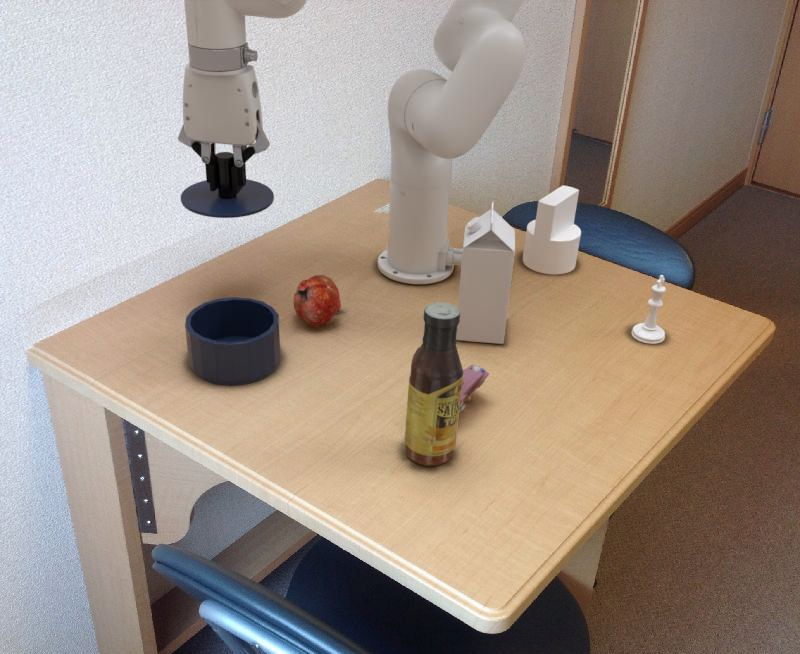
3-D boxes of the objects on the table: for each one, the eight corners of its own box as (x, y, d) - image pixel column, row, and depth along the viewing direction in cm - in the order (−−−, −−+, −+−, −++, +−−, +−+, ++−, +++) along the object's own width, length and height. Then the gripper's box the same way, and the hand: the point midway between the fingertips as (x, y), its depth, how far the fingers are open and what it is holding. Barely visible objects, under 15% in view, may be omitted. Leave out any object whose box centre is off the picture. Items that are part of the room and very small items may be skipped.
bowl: (279, 335, 134) (278, 295, 130) (281, 384, 123) (279, 343, 120) (192, 337, 132) (188, 297, 128) (186, 387, 122) (182, 345, 118)
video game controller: (439, 436, 118) (464, 405, 113) (412, 413, 118) (437, 381, 114) (475, 400, 125) (501, 369, 120) (450, 377, 125) (474, 346, 120)
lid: (273, 184, 139) (272, 138, 135) (274, 221, 128) (272, 173, 124) (184, 184, 137) (180, 138, 133) (177, 222, 127) (172, 173, 123)
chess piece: (670, 335, 138) (685, 276, 132) (654, 347, 135) (668, 287, 129) (642, 323, 141) (655, 264, 135) (625, 334, 138) (637, 275, 132)
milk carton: (503, 320, 140) (518, 203, 128) (503, 345, 134) (518, 224, 123) (457, 316, 140) (467, 199, 129) (454, 341, 134) (465, 220, 123)
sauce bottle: (440, 475, 109) (452, 332, 98) (394, 457, 112) (401, 316, 100) (464, 446, 114) (479, 307, 103) (420, 429, 117) (429, 291, 105)
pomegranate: (316, 316, 143) (269, 295, 135) (343, 279, 141) (298, 256, 133) (338, 344, 138) (291, 323, 130) (367, 305, 136) (321, 282, 129)
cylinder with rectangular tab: (538, 245, 161) (547, 180, 154) (584, 260, 157) (596, 194, 150) (512, 263, 155) (521, 196, 148) (560, 279, 151) (571, 211, 144)
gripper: (285, 54, 123) (288, 184, 134) (168, 44, 125) (181, 173, 135) (270, 69, 117) (275, 205, 128) (148, 59, 119) (163, 193, 129)
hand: (227, 187), depth 132 cm, fingers closed on lid, 2 cm apart
